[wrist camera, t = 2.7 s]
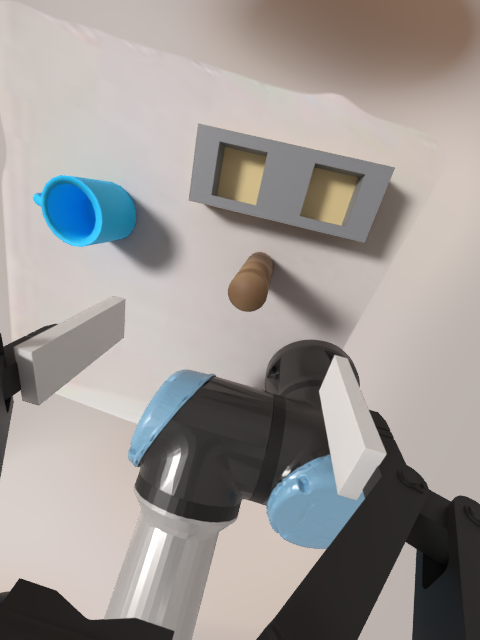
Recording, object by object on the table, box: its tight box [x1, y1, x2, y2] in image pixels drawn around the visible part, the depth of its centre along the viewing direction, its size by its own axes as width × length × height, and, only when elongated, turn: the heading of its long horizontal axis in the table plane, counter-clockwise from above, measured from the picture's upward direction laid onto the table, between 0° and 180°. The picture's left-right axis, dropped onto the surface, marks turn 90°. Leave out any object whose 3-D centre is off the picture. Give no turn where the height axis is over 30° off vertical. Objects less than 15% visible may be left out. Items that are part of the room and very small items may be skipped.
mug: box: [33, 175, 136, 247], centre depth 36 cm, size 12×8×8 cm
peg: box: [228, 252, 273, 312], centre depth 33 cm, size 4×4×14 cm
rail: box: [189, 124, 395, 243], centre depth 33 cm, size 22×8×5 cm, turn 78°
